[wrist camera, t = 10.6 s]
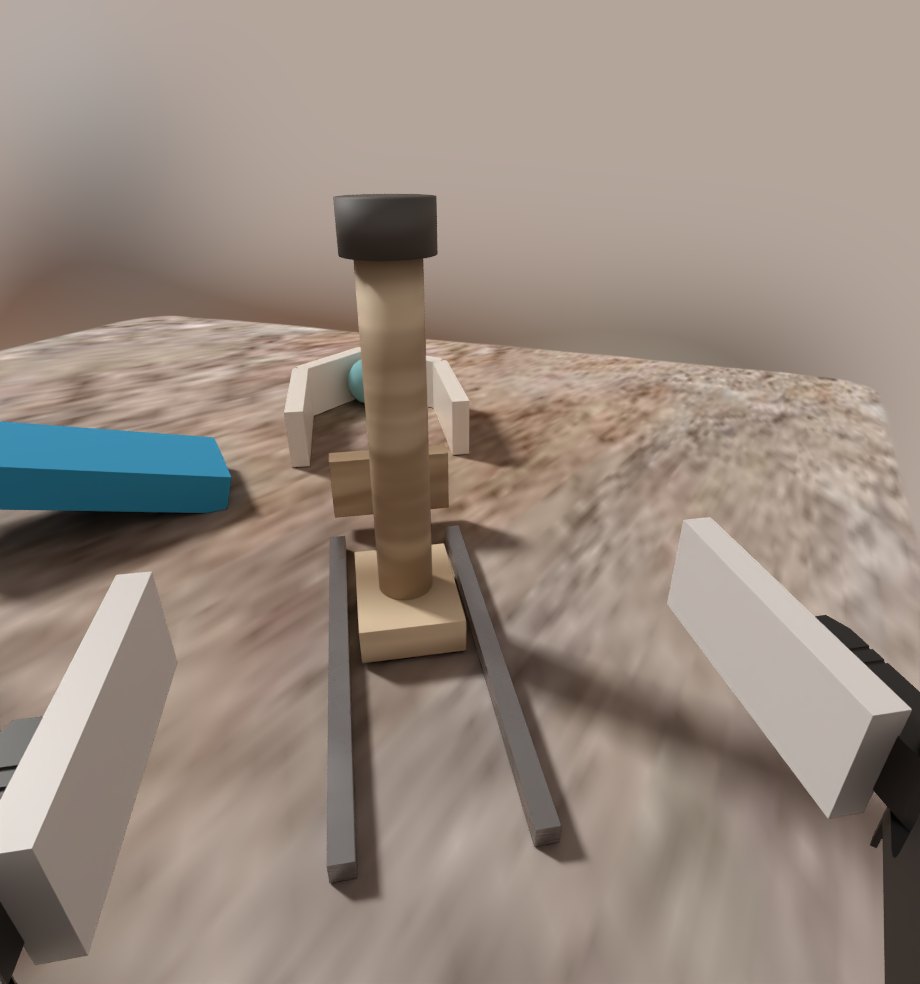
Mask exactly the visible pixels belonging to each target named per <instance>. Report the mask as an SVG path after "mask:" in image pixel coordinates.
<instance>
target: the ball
mask: <svg viewBox="0 0 920 984" xmlns="http://www.w3.org/2000/svg"><path fill="white" fill-rule="evenodd" d="M348 386H349V389H350V392H351V393H352V395H353V396H354V397H355V398H356V399H357V400H358V401H360V402H362V403H364V404H365V399H364V386H363V374H362V361H361V360H359V361H357V362H356V363H355V364H354V365H353V366H352V368H351V369H350V372H349V375H348Z"/></svg>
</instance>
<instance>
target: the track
mask: <svg viewBox="0 0 920 984" xmlns="http://www.w3.org/2000/svg"><path fill="white" fill-rule="evenodd" d="M444 539H445V543H446V546H447V549H448V553H449V556H450V560H451V563H452V567H453V570H454V573H455V577H456V580H457V584H458V587H459V590H460V594H461V597H462V601H463V604H464V608H465V611H466V614H467V618H468V621H469V625H470V628H471V632H472V635H473V638H474V642H475V645H476V649H477V652H478V655H479V659H480V662H481V666H482V669H483V673H484V676H485V679H486V683H487V686H488V690H489V693H490V697H491V700H492V703H493V707H494V710H495V714H496V717H497V720H498V724H499V727H500V731H501V734H502V738H503V741H504V744H505V748H506V751H507V755H508V758H509V762H510V765H511V768H512V772H513V775H514V779H515V782H516V785H517V789H518V792H519V796H520V799H521V803H522V806H523V809H524V813H525V816H526V820H527V823H528V827H529V830H530V833H531V837H532V840H533V844H534V846H540V845H546V844H551V843H557V842H559V840H560V832H561V824H560V821H559V818H558V815H557V812H556V809H555V806H554V803H553V800H552V797H551V794H550V792H549V789H548V786H547V783H546V780H545V777H544V774H543V771H542V768H541V765H540V762H539V759H538V756H537V753H536V751H535V748H534V745H533V742H532V739H531V736H530V733H529V730H528V727H527V724H526V721H525V718H524V715H523V712H522V710H521V707H520V704H519V701H518V698H517V695H516V692H515V689H514V686H513V683H512V680H511V677H510V674H509V672H508V669H507V666H506V663H505V660H504V657H503V654H502V651H501V648H500V645H499V642H498V639H497V636H496V633H495V631H494V628H493V625H492V622H491V619H490V616H489V613H488V610H487V607H486V604H485V601H484V598H483V595H482V593H481V590H480V587H479V584H478V581H477V578H476V575H475V572H474V569H473V566H472V563H471V560H470V557H469V554H468V552H467V549H466V546H465V543H464V540H463V537H462V534H461V531H460V528H459V525H456V526H445V527H444ZM327 871H328V877H329V883H332V882H337V881H343V880H348V879H354V878H357V858H356V827H355V797H354V767H353V736H352V706H351V676H350V645H349V615H348V585H347V554H346V541H345V536H339V537H330V578H329V683H328V787H327Z"/></svg>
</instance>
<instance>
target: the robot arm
mask: <svg viewBox="0 0 920 984" xmlns="http://www.w3.org/2000/svg"><path fill="white" fill-rule="evenodd" d="M667 604H668V606H669V607H670V608H671V610H672V611H673V612H674V614H675V615H676V616H677V618H678V619H679V620H680V622H681V623H682V624H683V626H684V627H685V628H686V630H687V631H688V632H689V634H690V635H691V636H692V638H693V639H694V640H695V642H696V643H697V644H698V646H699V647H700V648H701V650H702V651H703V652H704V654H705V655H706V656H707V658H708V659H709V660H710V662H711V663H712V664H713V666H714V667H715V668H716V670H717V671H718V672H719V674H720V675H721V676H722V678H723V679H724V680H725V682H726V683H727V684H728V686H729V687H730V688H731V690H732V691H733V692H734V694H735V695H736V696H737V698H738V699H739V700H740V702H741V703H742V704H743V706H744V707H745V708H746V710H747V711H748V712H749V714H750V715H751V716H752V718H753V719H754V721H755V722H756V723H757V725H758V726H759V727H760V729H761V730H762V731H763V733H764V734H765V735H766V737H767V738H768V739H769V741H770V742H771V743H772V745H773V746H774V747H775V749H776V750H777V751H778V753H779V754H780V755H781V757H782V758H783V759H784V761H785V762H786V763H787V765H788V766H789V767H790V769H791V770H792V771H793V773H794V774H795V775H796V777H797V778H798V779H799V781H800V782H801V783H802V785H803V786H804V787H805V789H806V790H807V791H808V793H809V794H810V795H811V797H812V798H813V799H814V801H815V802H816V803H817V805H818V806H819V807H820V809H821V810H822V811H823V813H824V814H825V815H826V817H827V818H828V819H830V818H836V817H841V816H846V815H852V814H857V813H863V812H864V811H865V808H866V806H867V804H868V802H869V800H870V798H871V796H872V794H873V791H875V793H876V794H877V795H878V796H879V797H880V799H881V800H882V801H883V802H884V803H885V804H886V806H887V809H886V811H885V813H884V815H883V817H882V819H881V821H880V823H879V825H878V827H877V829H876V831H875V833H874V835H873V837H872V840H871V843H870V846H873V847H875V848H877V846H878V844H879V842H880V840H881V839H883V891H884V956H885V984H920V692H919V691H918V690H917V689H916V688H915V687H914V686H913V685H912V684H910V683H909V682H908V681H907V680H906V679H905V678H904V677H903V676H902V675H901V674H899V673H898V672H897V671H896V670H895V669H894V668H893V667H892V666H891V665H890V664H888V663H885V662H884V659H883V658H882V657H881V656H880V655H879V654H877V653H876V652H875V651H874V650H873V649H869V645H868V644H867V643H865V642H864V641H863V640H862V639H861V638H860V637H859V636H858V635H857V634H856V633H854V632H853V631H852V630H851V629H850V628H848V627H846V626H844V625H843V624H841V623H839V622H837V621H836V620H834V619H832V618H830V617H829V616H827V615H822V616H814V615H812V614H811V613H810V612H809V611H808V610H807V609H806V608H805V607H804V606H803V605H802V604H801V603H800V602H799V601H798V600H797V599H796V598H795V597H794V596H793V595H791V594H790V593H789V592H788V591H787V590H786V589H785V588H784V587H783V586H782V585H781V584H780V583H779V582H778V581H777V580H776V579H775V578H774V577H773V576H772V575H770V574H769V573H768V572H767V571H766V570H765V569H764V568H763V567H762V566H761V565H760V564H759V563H758V562H757V561H756V560H755V559H754V558H753V557H752V556H751V555H750V554H748V553H747V552H746V551H745V550H744V549H743V548H742V547H741V546H740V545H739V544H738V543H737V542H736V541H735V540H734V539H733V538H732V537H731V536H730V535H729V534H727V533H726V532H725V531H724V530H723V529H722V528H721V527H720V526H719V525H718V524H717V523H716V522H715V521H714V520H713V519H712V518H711V517H708V518H697V519H687V520H683V525H682V530H681V535H680V540H679V545H678V550H677V556H676V561H675V566H674V571H673V576H672V581H671V586H670V592H669V597H668V602H667ZM176 665H177V659H176V655H175V652H174V648H173V645H172V641H171V637H170V634H169V630H168V627H167V623H166V620H165V616H164V613H163V609H162V605H161V602H160V598H159V595H158V591H157V588H156V584H155V581H154V577H153V573H152V572H142V573H132V574H122V575H116V576H115V578H114V580H113V582H112V584H111V586H110V588H109V590H108V592H107V594H106V596H105V598H104V600H103V602H102V604H101V606H100V608H99V609H98V611H97V613H96V615H95V617H94V619H93V621H92V623H91V625H90V627H89V629H88V631H87V633H86V635H85V637H84V639H83V640H82V642H81V644H80V646H79V648H78V650H77V652H76V654H75V656H74V658H73V660H72V662H71V664H70V666H69V668H68V670H67V672H66V673H65V675H64V677H63V679H62V681H61V683H60V685H59V687H58V689H57V691H56V693H55V695H54V697H53V699H52V701H51V703H50V704H49V706H48V708H47V710H46V712H45V714H44V716H43V717H36V718H28V719H20V720H13V721H11V722H10V723H9V724H8V725H7V726H6V727H5V728H4V729H3V730H2V731H1V732H0V984H17V983H16V981H15V980H14V978H13V976H12V974H13V971H14V968H15V966H16V963H17V961H18V958H19V956H20V953H21V951H22V948H23V946H24V948H25V949H26V951H27V953H28V954H29V956H30V958H31V959H32V961H33V963H34V964H35V965H39V964H44V963H50V962H55V961H60V960H66V959H71V958H77V957H82V956H87V955H88V953H89V950H90V947H91V943H92V940H93V937H94V934H95V930H96V927H97V924H98V921H99V917H100V914H101V911H102V908H103V904H104V901H105V898H106V894H107V891H108V888H109V885H110V881H111V878H112V875H113V872H114V868H115V865H116V862H117V858H118V855H119V852H120V849H121V845H122V842H123V839H124V836H125V832H126V829H127V826H128V822H129V819H130V816H131V813H132V809H133V806H134V803H135V800H136V796H137V793H138V790H139V786H140V783H141V780H142V777H143V773H144V770H145V767H146V764H147V760H148V757H149V754H150V750H151V747H152V744H153V741H154V737H155V734H156V731H157V728H158V724H159V721H160V718H161V714H162V711H163V708H164V705H165V701H166V698H167V695H168V692H169V688H170V685H171V682H172V678H173V675H174V672H175V669H176Z"/></svg>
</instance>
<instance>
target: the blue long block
mask: <svg viewBox="0 0 920 984" xmlns="http://www.w3.org/2000/svg"><path fill="white" fill-rule="evenodd" d="M230 483H231V475H230V473H229V470H228V468H227V466H226V464H225V461H224V459H223V457H222V454H221V452H220V450H219V448H218V445H217V443H216V441H215V439H214V438H212V437H199V436H186V435H173V434H159V433H146V432H133V431H119V430H106V429H93V428H80V427H66V426H53V425H40V424H27V423H13V422H0V509H2V510H62V511H123V512H183V513H210V512H215V511H219V510H224V509H227V506H228V498H229V491H230Z"/></svg>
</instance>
